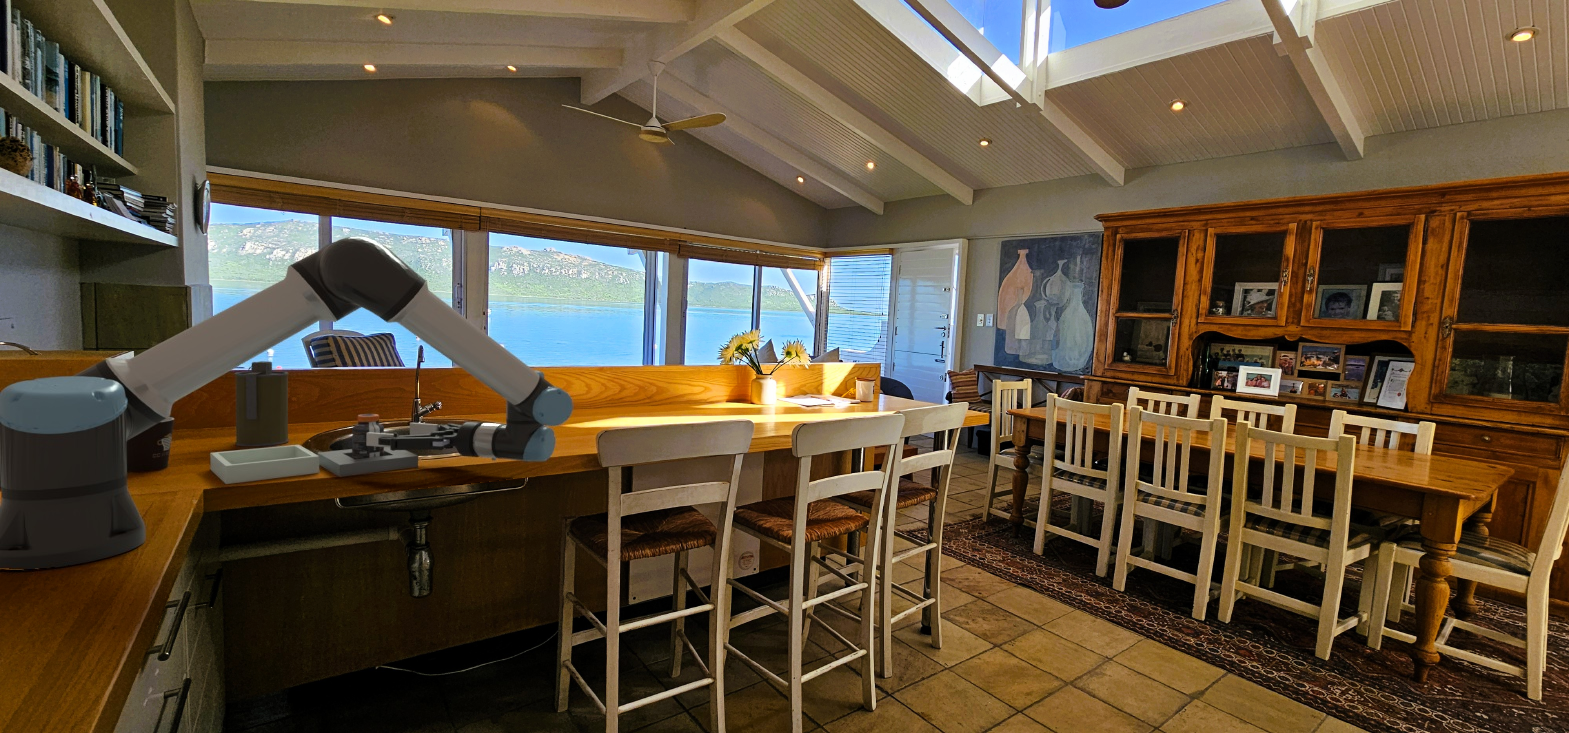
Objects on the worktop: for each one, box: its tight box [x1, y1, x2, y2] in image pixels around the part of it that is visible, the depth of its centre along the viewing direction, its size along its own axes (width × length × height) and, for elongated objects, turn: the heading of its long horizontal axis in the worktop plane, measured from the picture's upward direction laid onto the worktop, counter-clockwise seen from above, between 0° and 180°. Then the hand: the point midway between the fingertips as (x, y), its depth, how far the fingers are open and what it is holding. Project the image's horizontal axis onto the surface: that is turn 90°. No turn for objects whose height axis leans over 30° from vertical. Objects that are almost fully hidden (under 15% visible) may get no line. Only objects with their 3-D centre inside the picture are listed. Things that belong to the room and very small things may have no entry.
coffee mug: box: [126, 416, 175, 473], centre depth 135 cm, size 12×9×10 cm
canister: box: [234, 360, 290, 448], centre depth 162 cm, size 11×10×20 cm
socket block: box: [317, 447, 419, 478], centre depth 145 cm, size 15×15×2 cm
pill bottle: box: [351, 413, 385, 459], centre depth 145 cm, size 6×6×11 cm
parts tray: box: [209, 444, 320, 485], centre depth 136 cm, size 15×15×4 cm
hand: (390, 433), depth 145 cm, fingers open, 13 cm apart
